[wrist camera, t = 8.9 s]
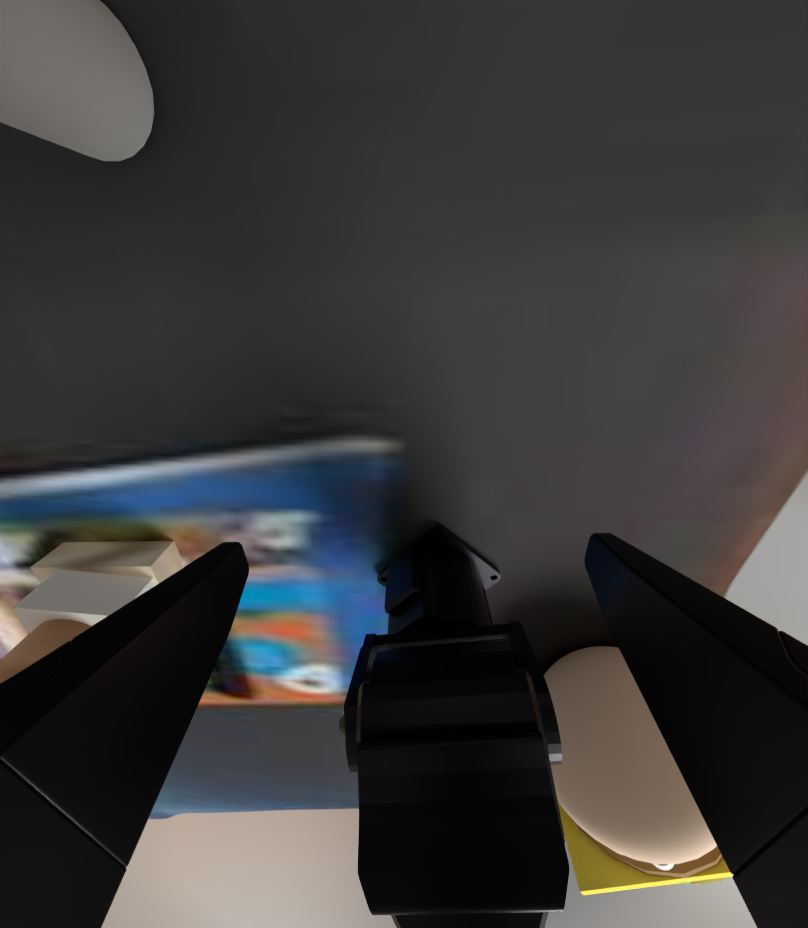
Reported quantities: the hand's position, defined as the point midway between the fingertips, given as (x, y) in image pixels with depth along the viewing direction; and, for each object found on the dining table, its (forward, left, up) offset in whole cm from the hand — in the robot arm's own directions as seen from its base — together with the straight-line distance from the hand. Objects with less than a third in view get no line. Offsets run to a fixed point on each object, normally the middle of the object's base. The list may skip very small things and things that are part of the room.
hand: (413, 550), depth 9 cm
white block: (+6, +24, -10) cm, 26 cm away
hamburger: (-27, +6, -12) cm, 30 cm away
